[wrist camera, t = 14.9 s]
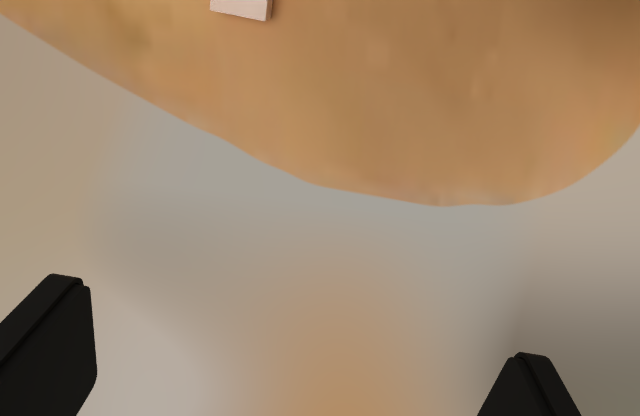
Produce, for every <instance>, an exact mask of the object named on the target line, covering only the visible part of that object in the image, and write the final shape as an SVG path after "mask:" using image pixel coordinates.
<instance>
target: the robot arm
mask: <svg viewBox="0 0 640 416" xmlns="http://www.w3.org/2000/svg"><path fill="white" fill-rule="evenodd" d="M96 377H97V364H96V352H95V341H94V328H93V316H92V305H91V294H90V288H89V287H87V286H84V285H83V281H82V279H81V278H76V277H71V276H65V275H59V274H50V275H48V276H47V277H46V278H45V279H44V280H43V281H42V282H41V283H40V284H39V285H38V286H37V287H36V288H35V289H34V290H33V291H32V292H31V293H30V294H29V295H28V296H27V297H26V298H25V299H24V300H23V301H22V302H21V303H20V304H19V305H18V306H17V307H16V308H15V309H14V310H13V311H12V312H11V313H10V314H9V315H8V316H7V317H6V318H5V319H4V320H3V321H2V322H1V323H0V416H76V415H77V413H78V412H79V410H80V408H81V407H82V405H83V403H84V402H85V400H86V399H87V397H88V395H89V394H90V392H91V390H92V388H93V386H94V384H95V381H96ZM477 416H581V414H580V412H579V411H578V409H577V407H576V405H575V403H574V402H573V400H572V398H571V396H570V394H569V393H568V391H567V389H566V387H565V385H564V384H563V382H562V380H561V378H560V376H559V375H558V373H557V371H556V369H555V367H554V366H553V364H552V362H551V361H550V359H549V358H547V357H546V356H542V355H536V354H530V353H523V352H519V353H517V354H516V355H515V356H514V357H510V358H508V360H507V361H506V363H505V365H504V367H503V368H502V370H501V372H500V374H499V376H498V378H497V380H496V381H495V383H494V385H493V387H492V389H491V391H490V392H489V394H488V396H487V398H486V400H485V402H484V404H483V405H482V407H481V409H480V411H479V413H478V415H477Z"/></svg>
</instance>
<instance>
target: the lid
mask: <svg viewBox="0 0 640 416" xmlns="http://www.w3.org/2000/svg"><path fill="white" fill-rule="evenodd" d="M272 3H273V0H211V1H210V10H211V11H216V12H221V13H226V14H231V15H236V16H241V17H246V18H251V19H256V20H261V21H266V20H268V19H270V18H271V12H272Z"/></svg>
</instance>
